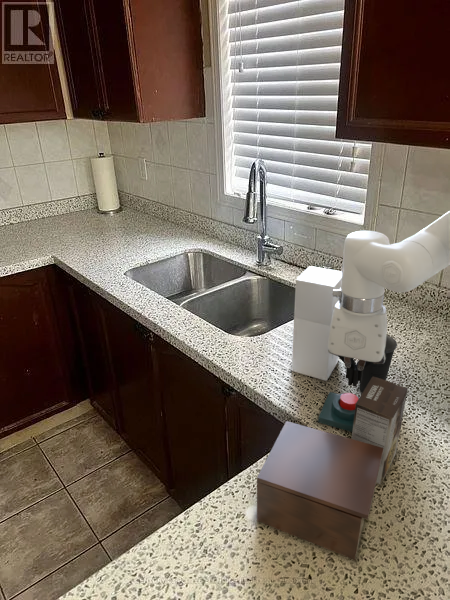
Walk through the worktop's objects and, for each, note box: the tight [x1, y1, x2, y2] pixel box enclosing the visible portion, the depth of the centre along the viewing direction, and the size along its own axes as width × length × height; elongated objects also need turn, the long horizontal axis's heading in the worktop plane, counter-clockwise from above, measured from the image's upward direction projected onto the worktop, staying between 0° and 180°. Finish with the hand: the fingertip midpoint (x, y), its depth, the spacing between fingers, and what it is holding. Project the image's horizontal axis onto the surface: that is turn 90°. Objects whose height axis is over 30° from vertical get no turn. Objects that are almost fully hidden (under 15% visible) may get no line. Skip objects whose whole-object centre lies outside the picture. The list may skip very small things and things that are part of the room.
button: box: [340, 392, 359, 410], centre depth 92 cm, size 4×4×2 cm
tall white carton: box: [291, 265, 342, 382], centre depth 104 cm, size 9×9×25 cm
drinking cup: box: [358, 334, 398, 394], centre depth 96 cm, size 8×8×20 cm
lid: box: [256, 420, 384, 520], centre depth 70 cm, size 16×14×1 cm
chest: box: [256, 481, 366, 561], centre depth 72 cm, size 16×14×10 cm
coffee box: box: [351, 377, 409, 485], centre depth 79 cm, size 9×6×16 cm
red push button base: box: [317, 391, 360, 433], centre depth 93 cm, size 10×9×4 cm
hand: (353, 382), depth 89 cm, fingers closed
